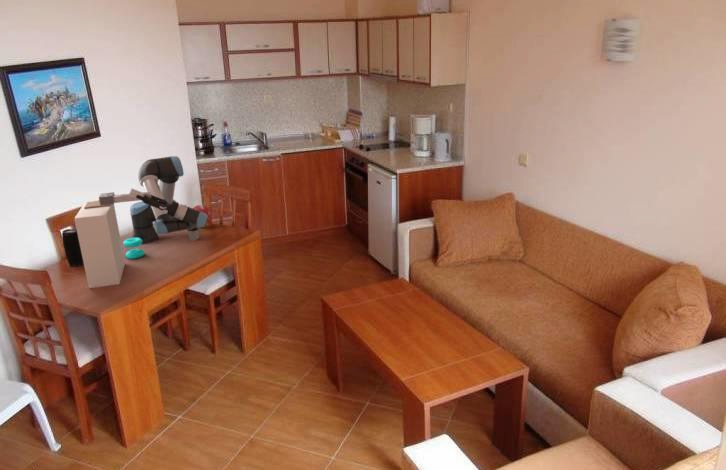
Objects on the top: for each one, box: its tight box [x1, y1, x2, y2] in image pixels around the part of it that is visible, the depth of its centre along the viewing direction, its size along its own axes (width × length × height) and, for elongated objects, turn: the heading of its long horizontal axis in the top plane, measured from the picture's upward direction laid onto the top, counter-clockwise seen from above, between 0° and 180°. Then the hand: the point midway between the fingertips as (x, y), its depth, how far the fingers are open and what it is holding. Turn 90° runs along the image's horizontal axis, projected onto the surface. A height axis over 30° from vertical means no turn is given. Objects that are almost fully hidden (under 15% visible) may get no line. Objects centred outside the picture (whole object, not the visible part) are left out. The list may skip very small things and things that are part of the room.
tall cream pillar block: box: [74, 200, 126, 289], centre depth 286 cm, size 14×30×37 cm, turn 17°
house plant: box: [186, 226, 200, 241], centre depth 341 cm, size 14×14×16 cm
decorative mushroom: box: [193, 204, 212, 228], centre depth 363 cm, size 13×13×15 cm
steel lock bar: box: [98, 191, 151, 205], centre depth 276 cm, size 23×8×4 cm, turn 107°
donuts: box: [122, 237, 145, 260], centre depth 316 cm, size 10×10×10 cm
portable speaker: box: [61, 228, 84, 267], centre depth 306 cm, size 9×9×20 cm
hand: (130, 192), depth 276 cm, fingers closed on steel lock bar, 4 cm apart
